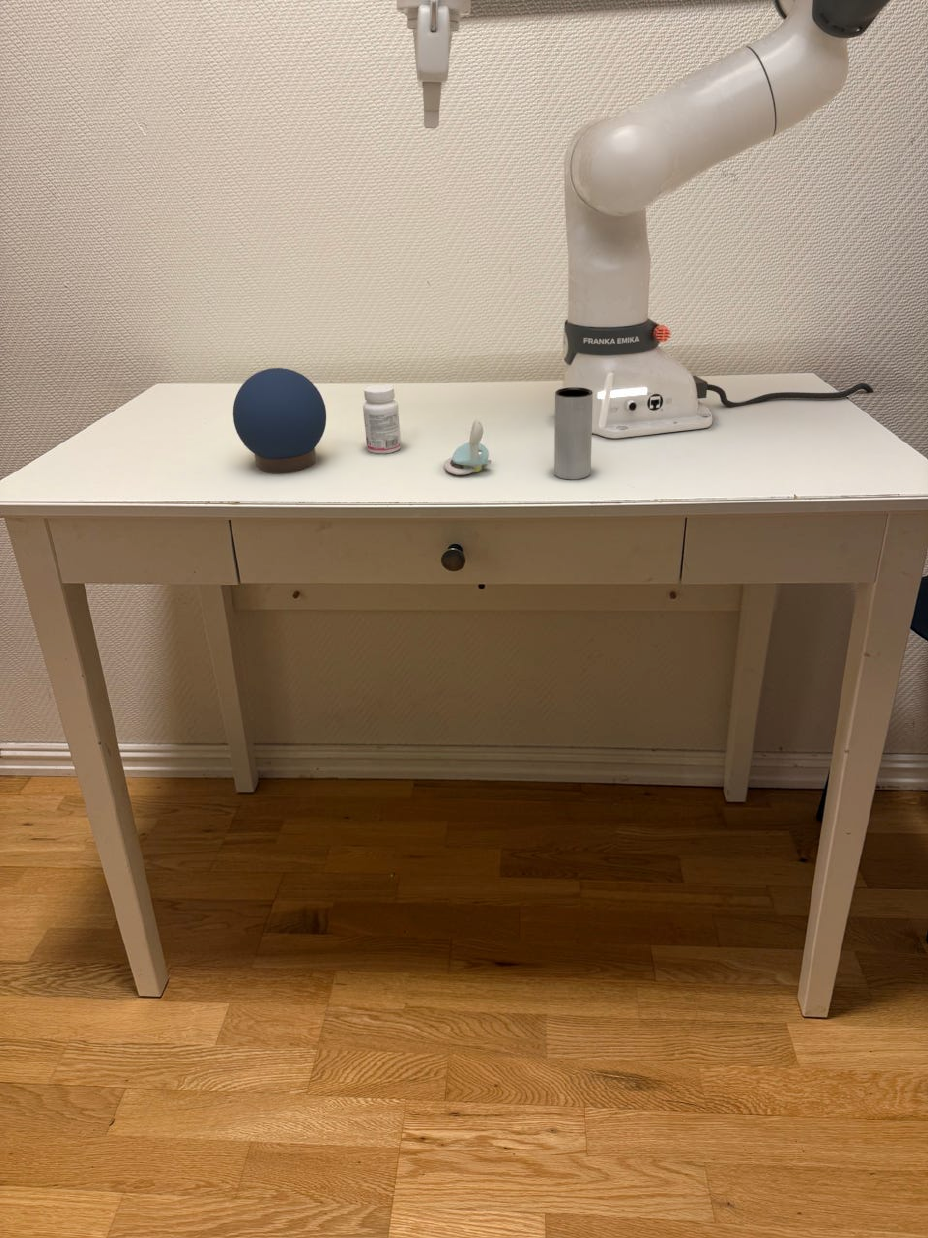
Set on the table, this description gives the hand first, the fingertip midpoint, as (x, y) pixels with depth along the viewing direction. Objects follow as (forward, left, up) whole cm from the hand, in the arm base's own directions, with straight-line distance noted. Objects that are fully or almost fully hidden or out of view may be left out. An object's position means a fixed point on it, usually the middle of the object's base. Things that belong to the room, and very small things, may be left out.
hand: (430, 127), depth 114 cm
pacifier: (-2, +18, -39) cm, 43 cm away
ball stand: (+22, +12, -39) cm, 46 cm away
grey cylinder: (-15, +22, -39) cm, 47 cm away
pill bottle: (+9, +8, -39) cm, 41 cm away
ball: (+22, +12, -39) cm, 46 cm away
